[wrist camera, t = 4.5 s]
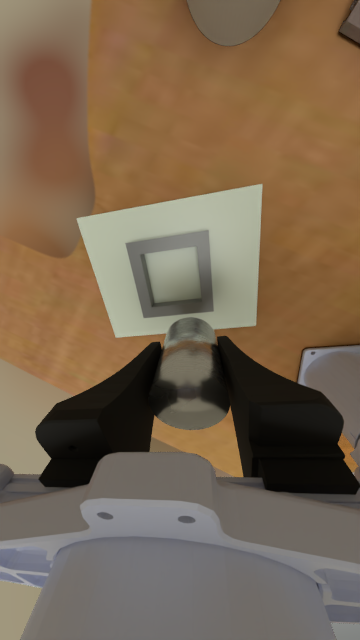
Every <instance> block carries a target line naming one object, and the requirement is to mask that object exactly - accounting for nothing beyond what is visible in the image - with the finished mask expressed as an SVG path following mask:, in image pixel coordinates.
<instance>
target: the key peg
mask: <svg viewBox="0 0 360 640" xmlns="http://www.w3.org/2000/svg"><path fill="white" fill-rule="evenodd" d="M148 400H149V406H150V408H151V410H152V412H153V413H154V415H155V416H156V417H157V418H158V419H160V420H161V421H162V422H164V423H166V424H168V425H170V426H172V427H175V428H179V429H185V430H199V429H205V428H208V427H211V426H213V425H215V424H217V423H219V422H220V421H221V420H222V419H223V418H224V417H225V416H226V415H227V413H228V411H229V408H230V399H229V394H228V389H227V385H226V381H225V376H224V372H223V367H222V363H221V358H220V354H219V350H218V345H217V340H216V336H215V332H214V330H213V328H212V327H211V326H210V325H209V324H208V323H207V322H205V321H204V320H202V319H199V318H194V317H186V318H182V319H179V320H177V321H176V322H174V323H173V324H172V325H171V326H170V327H169V329H168V331H167V334H166V338H165V341H164V345H163V348H162V352H161V355H160V358H159V362H158V365H157V369H156V372H155V376H154V379H153V383H152V386H151V390H150V393H149V399H148Z"/></svg>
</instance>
